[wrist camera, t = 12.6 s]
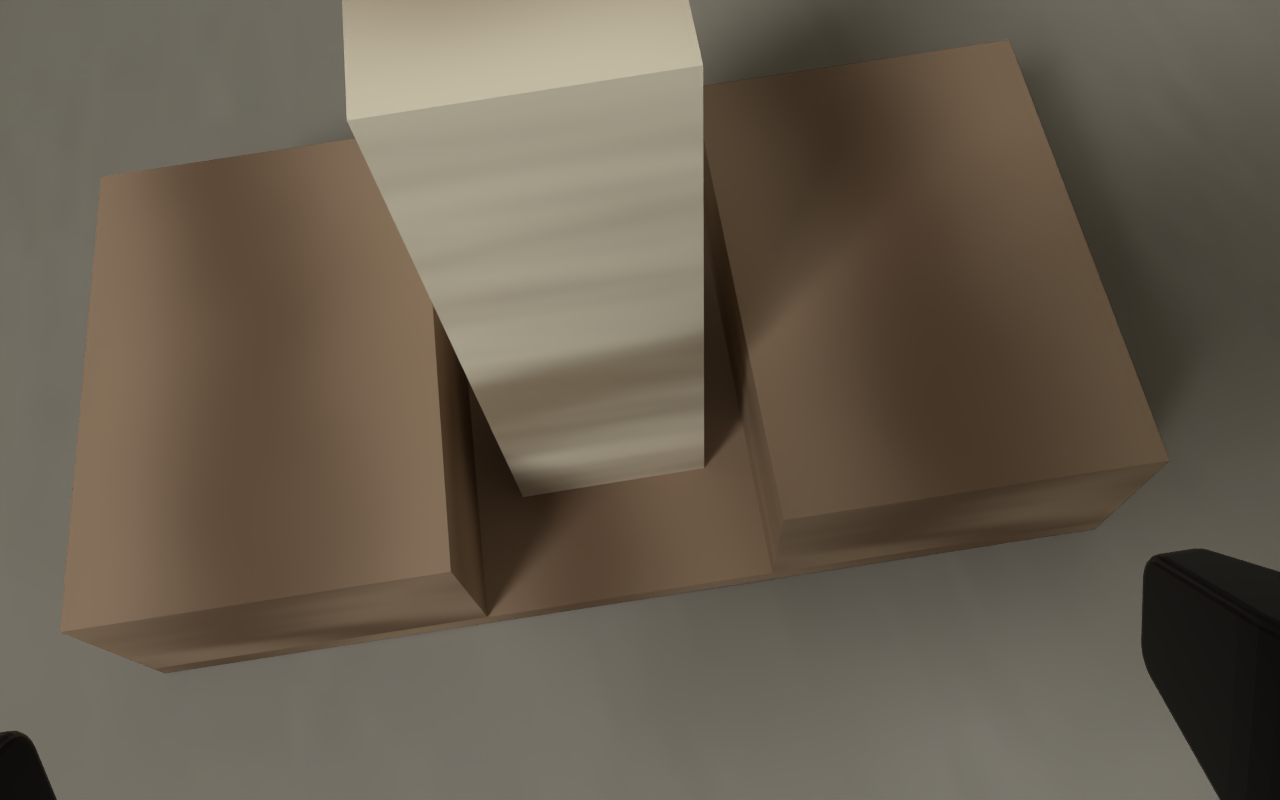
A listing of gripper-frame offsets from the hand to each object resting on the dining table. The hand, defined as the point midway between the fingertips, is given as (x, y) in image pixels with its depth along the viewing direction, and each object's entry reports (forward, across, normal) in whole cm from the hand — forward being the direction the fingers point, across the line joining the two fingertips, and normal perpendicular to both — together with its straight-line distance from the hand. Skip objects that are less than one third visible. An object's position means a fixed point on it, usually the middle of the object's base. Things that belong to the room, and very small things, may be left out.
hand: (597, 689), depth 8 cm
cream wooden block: (+16, 0, +3) cm, 16 cm away
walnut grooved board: (+16, 0, +3) cm, 16 cm away
